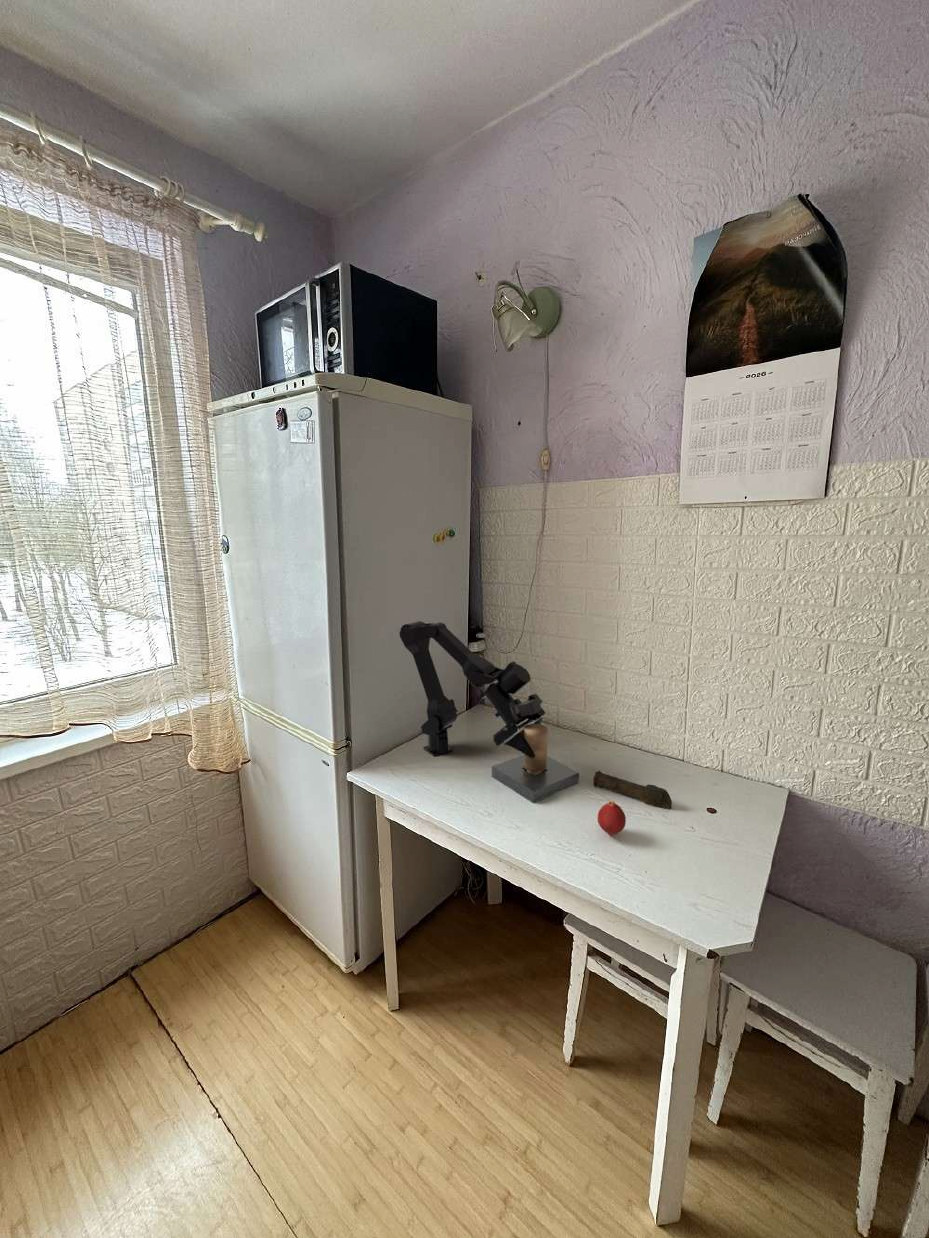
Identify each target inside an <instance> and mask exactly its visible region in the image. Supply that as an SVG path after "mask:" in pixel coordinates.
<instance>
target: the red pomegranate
mask: <svg viewBox="0 0 929 1238" xmlns="http://www.w3.org/2000/svg"><path fill="white" fill-rule="evenodd" d="M626 821H627V819H626V814H625V812H624V810H623V809H622V808H621V806H619V804H617V803H616V802H615V801H614V800H609V801H608V803H605V804H603V805H602V806H601V807H600V809H599V810H598V813H597V823H598V826H599V827H600V828H601V830H602V831H603V832H605V833H606V834H607V835H609V836H614V835H617V834H620V833H621V832H622V831H623V830H624V829H625V827H626Z"/></svg>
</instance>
